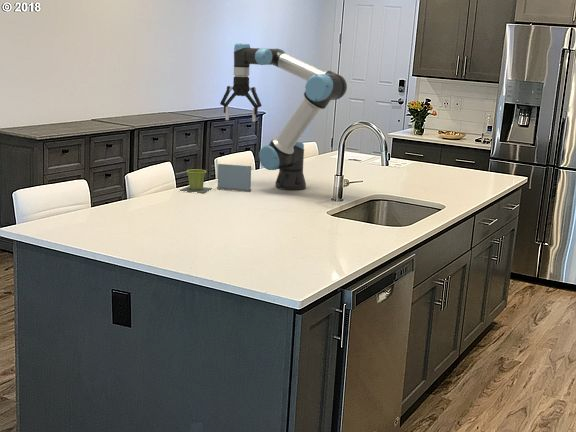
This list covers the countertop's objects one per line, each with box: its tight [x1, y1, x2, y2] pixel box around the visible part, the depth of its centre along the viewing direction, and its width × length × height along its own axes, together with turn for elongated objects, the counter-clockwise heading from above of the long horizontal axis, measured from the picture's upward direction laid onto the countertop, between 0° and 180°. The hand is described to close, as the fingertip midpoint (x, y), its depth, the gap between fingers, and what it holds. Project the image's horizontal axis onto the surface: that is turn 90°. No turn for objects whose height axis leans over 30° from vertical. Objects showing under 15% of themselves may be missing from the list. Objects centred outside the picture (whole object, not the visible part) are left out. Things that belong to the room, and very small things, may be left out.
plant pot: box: [186, 168, 207, 190], centre depth 362 cm, size 9×9×9 cm
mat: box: [179, 185, 213, 194], centre depth 363 cm, size 12×12×1 cm
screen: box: [216, 163, 252, 193], centre depth 366 cm, size 16×3×12 cm, turn 75°
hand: (240, 120), depth 373 cm, fingers open, 13 cm apart
